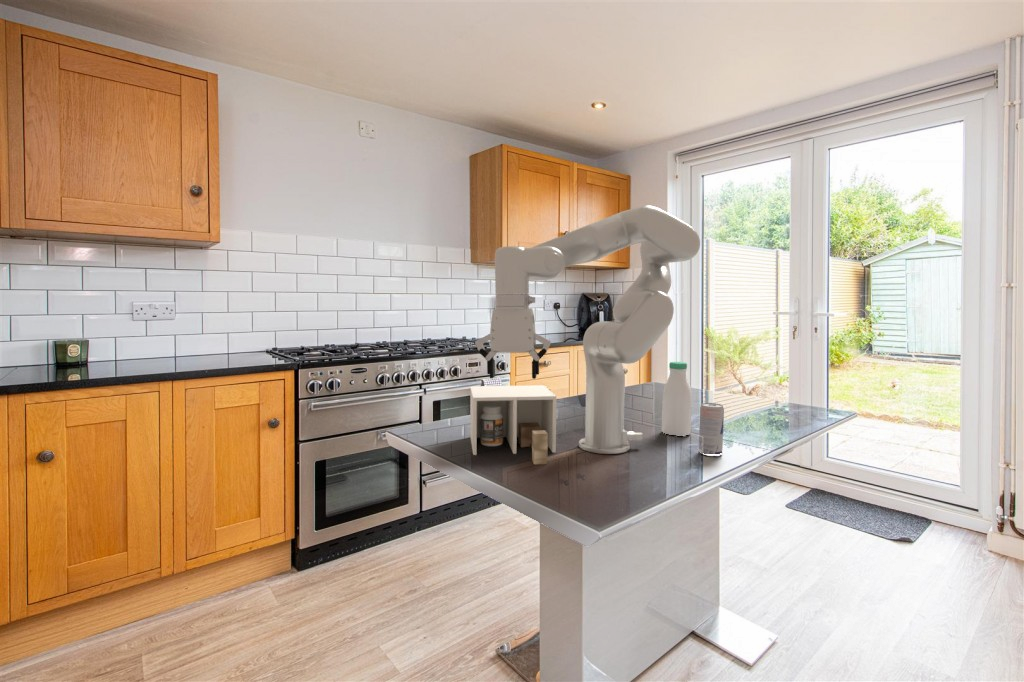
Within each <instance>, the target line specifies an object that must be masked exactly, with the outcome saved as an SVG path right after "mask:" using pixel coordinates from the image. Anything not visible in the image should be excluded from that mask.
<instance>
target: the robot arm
mask: <svg viewBox="0 0 1024 682" xmlns="http://www.w3.org/2000/svg"><path fill="white" fill-rule="evenodd" d="M636 244H640V249H639V250H640V251H639V252H640V259H641V269H640V270H641V271H640V272H639V274H638V276H637V278H636V279H635V280H634V281H633V283H632V284H631V285H630V286H629V287H628V289H626V291H625V292H624V293H623V294H622V295H621V296H620V298H619V299H618V300H617V301H616V303H615V305H614V306H613V311H612V316H613V319H614V320H615V321H607V320H604V321H603V320H602V321H597V322H594V323H593V324H591V325H589V327H588V328H587V329H586V330H585V332H584V335H583V340H582V346H583V353H584V360H585V371H586V372H585V374H586V375H585V376H586V377H585V382H586V383H585V422H584V423H585V424H584V427H585V428H584V429H585V430H584V432H585V433H584V436H585V437H584V438H581V439H580V440H579V441H578V447H579V448H580V449H582V450H584V451H586V452H588V453H589V452H590V453H595V454H602V455H603V454H604V455H614V454H623V453H626V452H628V451H629V450H630V449H631V447H630V442H631V441H643V440H644V439H643V438H644V435H643V433H642V432H635V431H632V430H631V431H629V430H628V431H627V430H626V429H625V389H626V376H625V375H626V374H625V369H624V366H623V364H625V365H628V364H630V365H631V364H635V363H637V362H639V361H640V360H642V359H643V358H644V357H645V355H646V354H647V353H648V352H649V351H650V350H651V348H652V347H653V346H654V345H655V344H656V343H657V341H659V339H660V338H661V337H662V335H663V334H664V333H665V331H667V328H669V326H670V324H671V323H672V321H673V316H674V312H675V311H674V304H673V303H674V302H673V301H672V299H671V297H670V296H669V295H668V293H669V292H670V289H671V287H672V276H671V270H670V263H678V262H680V263H681V262H687V261H689V260H691V259H692V258H694V257H696V256H697V254H698V252H699V250H700V248H701V239H700V236H699V234H698V232H697V230H696V229H695V228H693V227H692V226H691V225H690V224H688V223H686V222H684V221H683V220H681V219H679V218H677V216H674V215H672V214H670V213H669V212H666V211H665V210H663V209H661V208H659V207H656V206H653V205H642V206H638V207H635V208H630V209H627V210H623V211H620V212H617V213H615V214H613V215H609V216H608V217H605V218H603V219H600V220H598V221H595V222H593V223H589V224H587V225H585V226H581V227H580V228H577V229H575V230H572V231H570V232H567V233H566V234H563V235H561V236H558V237H555V238H552V239H550V240H547V241H545V242H544V241H543V242H542V243H539V244H537V245H534V246H532V247H523V246H513V245H512V246H502V247H501V246H500V247H498V248H497V249H496V250H495V252H494V276H495V279H494V282H495V283H494V284H495V289H494V290H495V308H492V312H491V317H490V319H491V321H490V331H489V334H487V335H485V336H483V337H481V338H479V339H476V340H475V341H474V345H475V347H476V348H477V350H478V353H479V354H480V355H481V356H482V357H483V358H484V359H485V361H486V365H487V366H486V370H487V375H489V378H490V379H494V378H495V377H496V360H495V359H494V357H495V356H496V354H497V353H498V354H499V353H503V354H507V353H508V354H515V353H517V354H518V353H519V354H525V353H526V354H527V353H528V355H529V356H530V357H532V361H531V379H533V380H534V379H536V378H537V375H540V360H541V359H542V357H544V356H545V355H546V353H548V350H549V348H550V346H551V343H552V341H551V340H549V339H548V338H546V337H544V336H542V335H541V334H540V335H539V334H538V333H536V322H535V313H534V310H533V308H532V307H531V308H530V305H532V304H536V297H535V296H531V295H530V293H529V292H530V291H529V290H530V288H529V287H530V283H529V281H531V282H532V281H546V280H552V279H555V278H557V277H558V276H560V275H561V274H562V272H563V271H564V270H565V268H566V267H570V266H576V265H580V264H587V263H591V262H593V261H597V260H600V259H602V258H604V257H607V256H610V255H611V254H614V253H616V252H617V251H621V250H623V249H625V248H628V247H631V246H633V245H636ZM486 342H489V346H490V347H489V348H490V351H488V350H486V348H485V347H484V343H486ZM537 342H539V343H541V344H542V345H543V346H542V348H541V350H539V352H538V351H537V350H536V346H537V345H536V344H537Z"/></svg>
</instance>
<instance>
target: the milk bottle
mask: <svg viewBox="0 0 1024 682" xmlns="http://www.w3.org/2000/svg"><path fill="white" fill-rule="evenodd" d="M668 368H669V374H668V375H669V376H668V378H667V379H666V380H667V381H666V382H665V384H664V386H663V392H662V404H661V405H662V407H661V409H662V410H661V433H662V432H663V433H662V434H664V433H665V434H664V435H666V434H669V435H688V434H690V435H691V433H692V432H691V431H692V429H691V428H692V408H693V407H692V405H693V404H692V402H693V401H692V400H693V399H692V398H693V396H692V393H693V392H692V387H691V385H690V383H689V380H688V378H687V371H688V370H687V369H688V364H687V362H686V361H685V362H684V361H670V362H669V367H668ZM669 435H668V436H669Z"/></svg>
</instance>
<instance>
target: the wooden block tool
mask: <svg viewBox="0 0 1024 682" xmlns="http://www.w3.org/2000/svg"><path fill="white" fill-rule="evenodd" d="M517 438H518V440H517V441H518V442H517V443H518V445H520V448H531V461H532V463H533V465H548V449H549V447H548V433H547V432H546V431H545V430H541V426H540V425H539V424H538V422H532V423H519V437H517Z"/></svg>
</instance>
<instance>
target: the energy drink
mask: <svg viewBox="0 0 1024 682" xmlns="http://www.w3.org/2000/svg"><path fill="white" fill-rule="evenodd" d="M724 415H725V409H724V405H723V404H720V403H714V402H702V403H701V404H700V406H699V426H698V427H699V428H698V429H699V430H698V432H699V433H698V453H699V452H701V453H704V454H720V453H722V454H723V446H724V443H723V442H724V441H723V440H724V420H725V418H724V417H725V416H724Z"/></svg>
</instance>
